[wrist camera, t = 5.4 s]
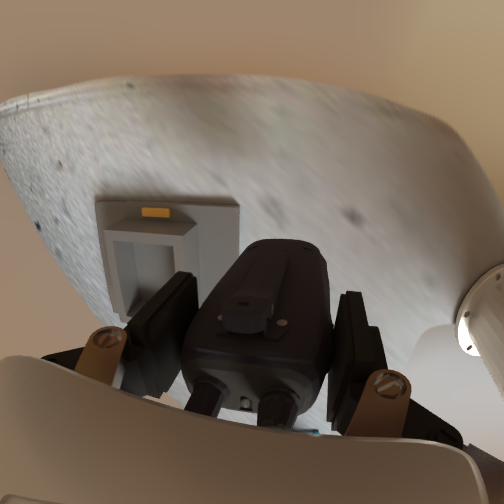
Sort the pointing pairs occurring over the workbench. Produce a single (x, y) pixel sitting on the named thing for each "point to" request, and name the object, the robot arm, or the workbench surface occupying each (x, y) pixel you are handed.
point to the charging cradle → (163, 247)
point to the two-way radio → (262, 336)
